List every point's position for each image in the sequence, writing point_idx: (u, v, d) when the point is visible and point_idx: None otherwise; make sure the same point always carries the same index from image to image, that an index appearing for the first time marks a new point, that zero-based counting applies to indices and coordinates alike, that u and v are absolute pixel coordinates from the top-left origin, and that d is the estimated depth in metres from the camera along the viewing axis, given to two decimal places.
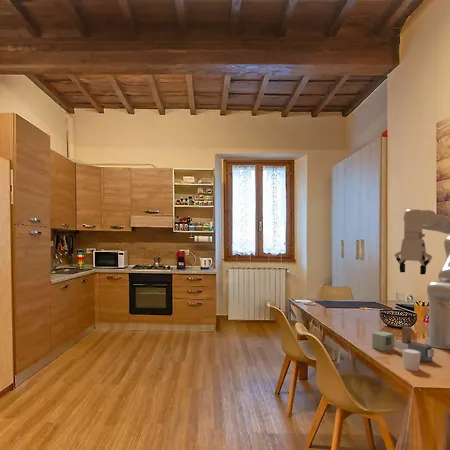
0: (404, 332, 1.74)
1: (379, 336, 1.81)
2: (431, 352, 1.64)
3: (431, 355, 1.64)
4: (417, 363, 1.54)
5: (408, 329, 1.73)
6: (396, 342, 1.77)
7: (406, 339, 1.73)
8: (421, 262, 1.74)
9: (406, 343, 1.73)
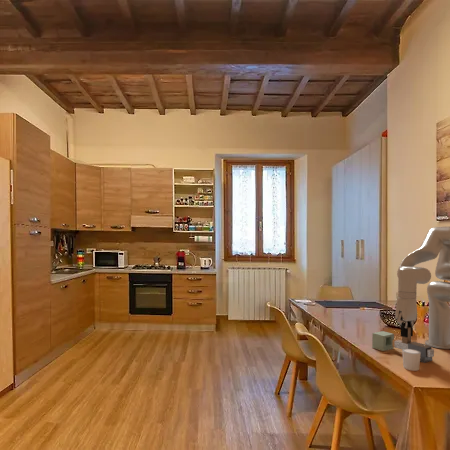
0: None
1: (379, 336, 1.81)
2: (431, 352, 1.64)
3: (431, 355, 1.64)
4: (417, 363, 1.54)
5: (408, 329, 1.73)
6: (396, 342, 1.77)
7: (406, 339, 1.73)
8: (412, 323, 1.75)
9: (406, 343, 1.73)
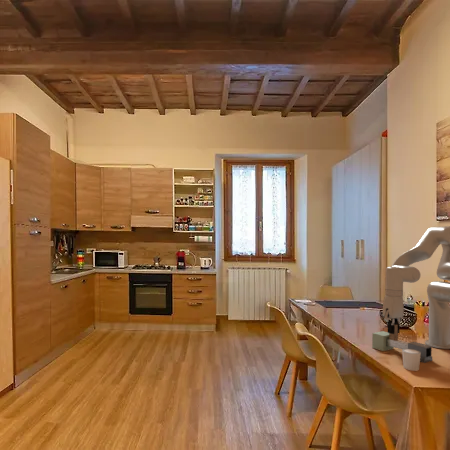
0: None
1: (379, 336, 1.81)
2: None
3: None
4: (417, 363, 1.54)
5: (395, 326, 1.78)
6: None
7: (393, 336, 1.78)
8: (399, 320, 1.80)
9: (393, 339, 1.78)
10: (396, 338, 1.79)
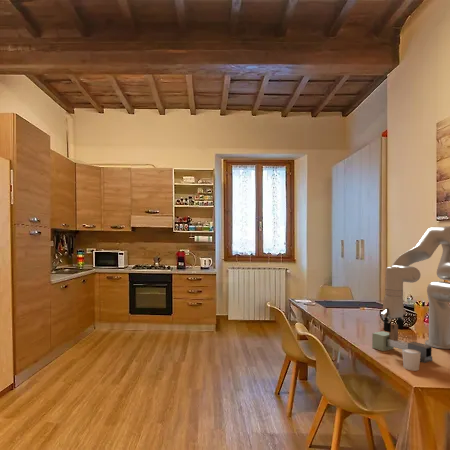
0: (391, 329, 1.79)
1: (379, 336, 1.81)
2: None
3: None
4: (417, 363, 1.54)
5: (395, 326, 1.78)
6: None
7: (393, 336, 1.78)
8: (402, 318, 1.81)
9: (393, 339, 1.78)
10: (396, 338, 1.79)
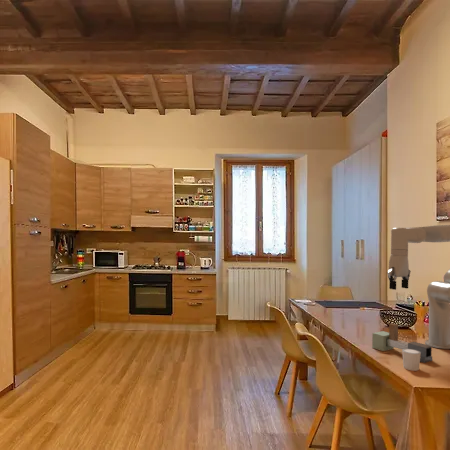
0: (391, 329, 1.79)
1: (379, 336, 1.81)
2: None
3: None
4: (417, 363, 1.54)
5: (395, 326, 1.78)
6: None
7: (393, 336, 1.78)
8: (407, 277, 1.88)
9: (393, 339, 1.78)
10: (396, 338, 1.79)
